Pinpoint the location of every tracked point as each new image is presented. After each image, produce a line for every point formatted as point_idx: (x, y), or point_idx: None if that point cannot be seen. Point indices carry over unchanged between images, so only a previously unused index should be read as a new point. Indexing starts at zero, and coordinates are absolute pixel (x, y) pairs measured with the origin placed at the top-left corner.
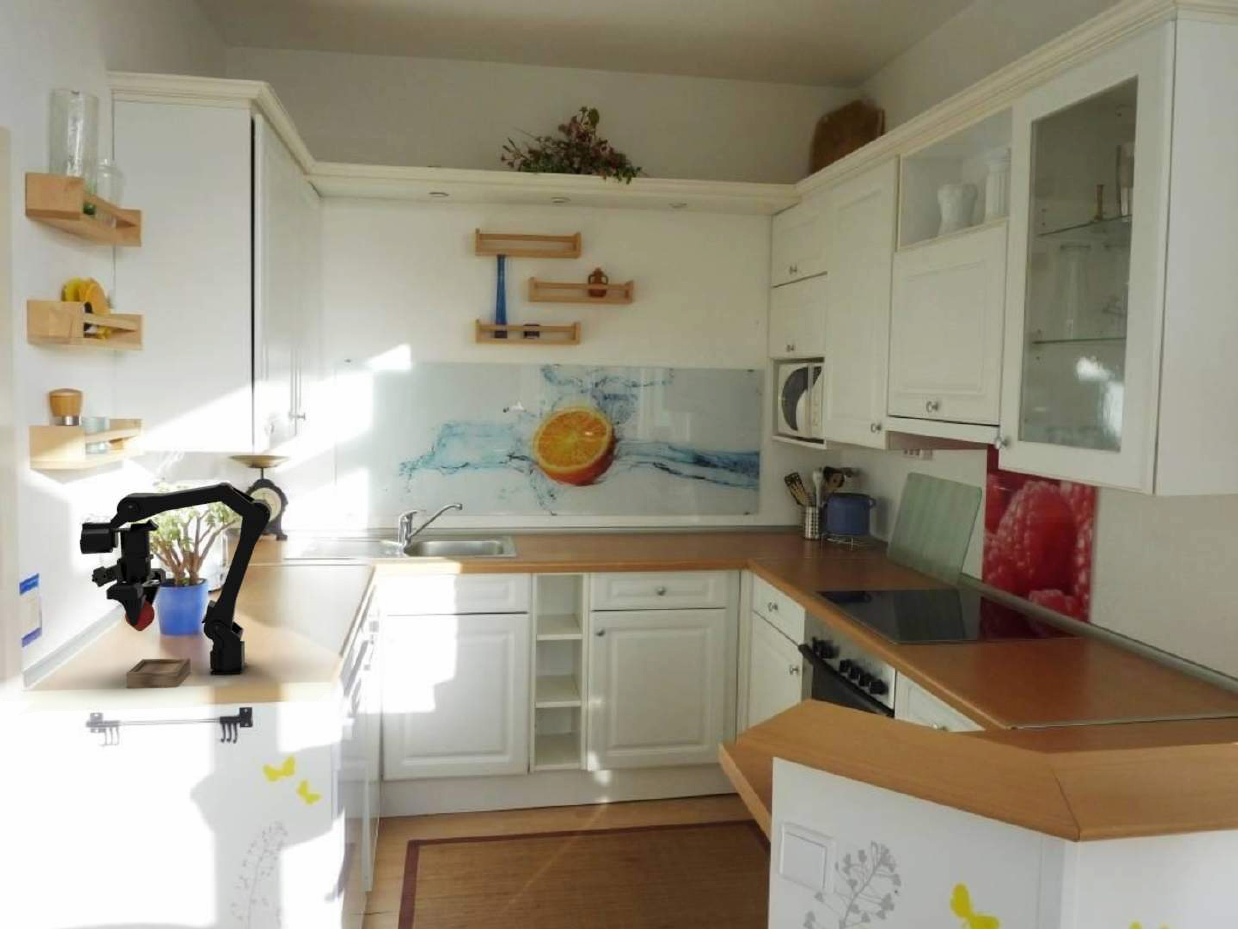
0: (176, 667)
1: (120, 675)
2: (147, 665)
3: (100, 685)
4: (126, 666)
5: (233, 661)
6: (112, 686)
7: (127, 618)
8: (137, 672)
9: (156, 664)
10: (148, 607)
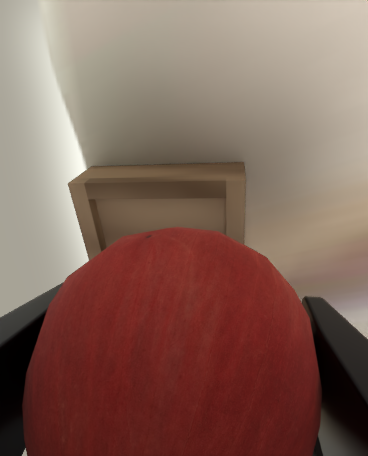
0: None
1: (228, 83)
2: (208, 203)
3: (106, 58)
4: (363, 51)
5: None
6: (101, 110)
7: (66, 283)
8: (83, 215)
9: (218, 229)
10: None
